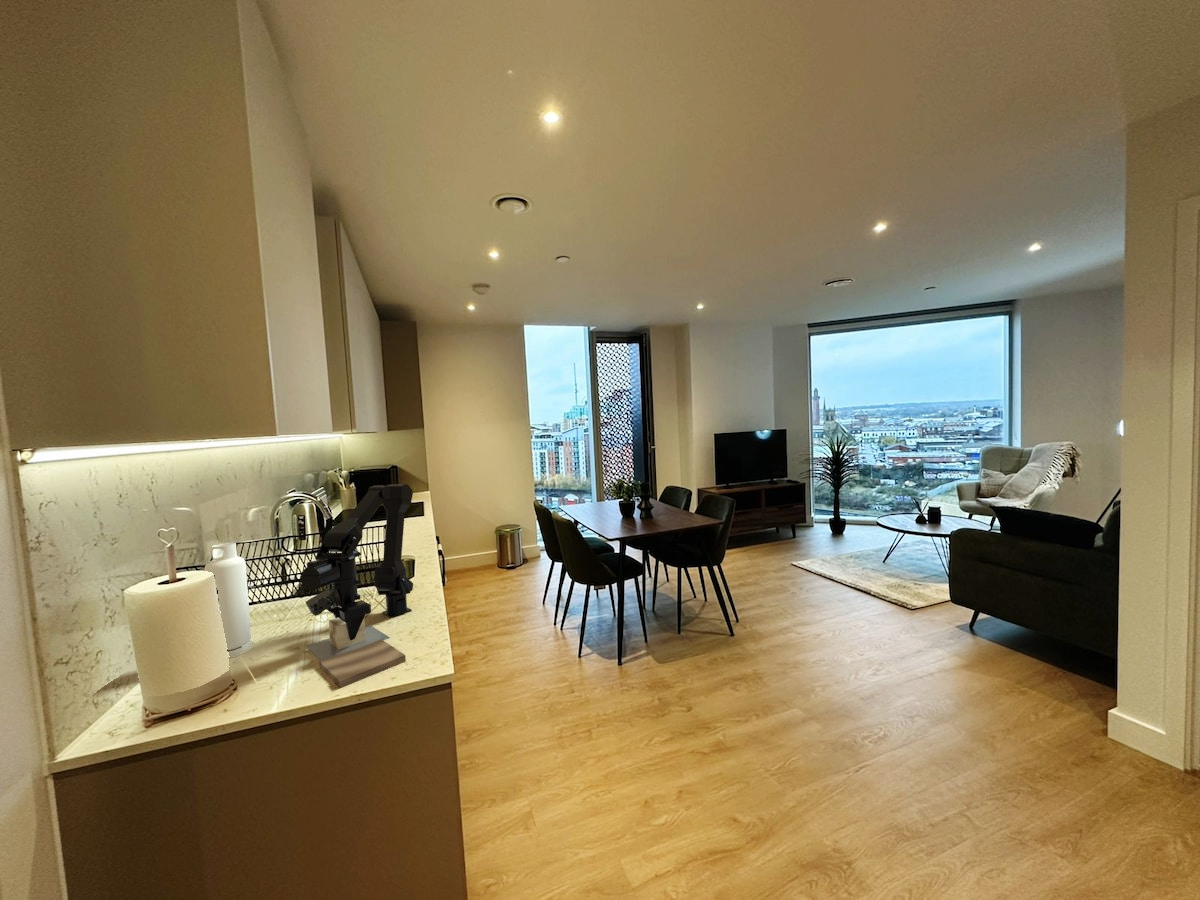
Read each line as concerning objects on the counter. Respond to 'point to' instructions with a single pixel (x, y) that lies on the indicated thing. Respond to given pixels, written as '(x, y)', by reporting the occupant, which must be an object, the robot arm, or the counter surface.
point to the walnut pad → (361, 662)
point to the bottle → (232, 596)
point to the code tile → (328, 650)
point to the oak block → (344, 634)
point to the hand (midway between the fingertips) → (347, 636)
